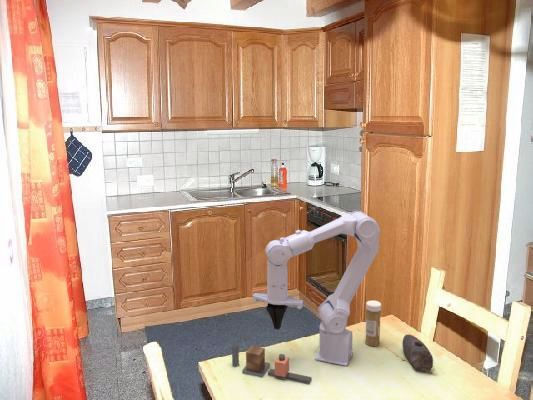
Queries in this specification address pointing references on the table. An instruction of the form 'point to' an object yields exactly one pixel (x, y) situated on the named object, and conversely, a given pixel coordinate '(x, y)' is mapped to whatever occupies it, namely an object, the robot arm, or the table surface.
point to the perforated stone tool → (417, 353)
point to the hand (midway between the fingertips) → (277, 327)
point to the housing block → (255, 358)
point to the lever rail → (292, 377)
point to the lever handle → (281, 365)
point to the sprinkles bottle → (373, 323)
